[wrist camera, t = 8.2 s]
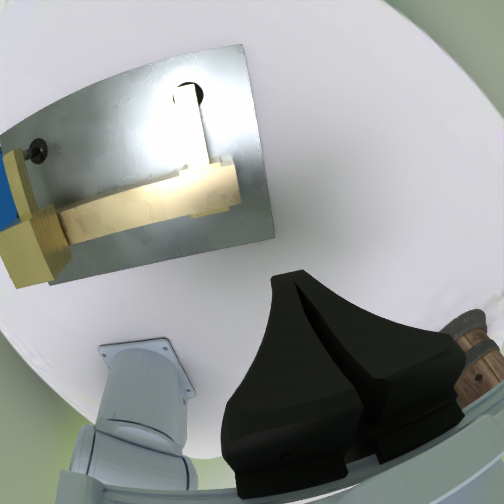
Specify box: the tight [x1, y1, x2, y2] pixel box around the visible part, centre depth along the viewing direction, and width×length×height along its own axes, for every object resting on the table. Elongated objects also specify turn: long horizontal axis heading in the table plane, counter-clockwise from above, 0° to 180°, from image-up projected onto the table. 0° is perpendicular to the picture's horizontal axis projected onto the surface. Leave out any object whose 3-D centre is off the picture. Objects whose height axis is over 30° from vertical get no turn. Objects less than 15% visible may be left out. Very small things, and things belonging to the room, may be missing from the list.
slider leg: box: [0, 147, 73, 289], centre depth 14 cm, size 8×4×5 cm, turn 10°
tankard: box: [440, 309, 504, 409], centre depth 24 cm, size 24×17×20 cm
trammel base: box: [0, 44, 275, 286], centre depth 17 cm, size 14×20×3 cm
